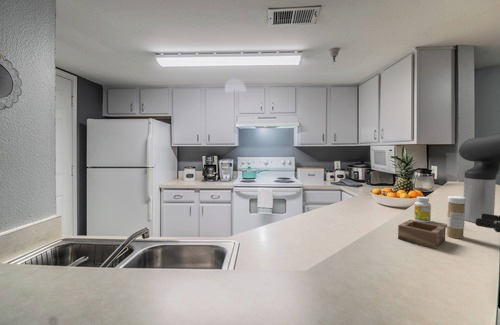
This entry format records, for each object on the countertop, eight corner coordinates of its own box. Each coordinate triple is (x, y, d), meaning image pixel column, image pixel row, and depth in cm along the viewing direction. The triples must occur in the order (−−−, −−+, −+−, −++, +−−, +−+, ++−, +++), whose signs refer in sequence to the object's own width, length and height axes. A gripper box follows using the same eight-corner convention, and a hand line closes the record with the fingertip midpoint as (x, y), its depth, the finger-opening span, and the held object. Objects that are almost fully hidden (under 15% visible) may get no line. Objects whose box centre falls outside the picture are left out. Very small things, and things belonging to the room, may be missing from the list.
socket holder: (409, 232, 86) (410, 219, 85) (445, 240, 78) (445, 226, 78) (397, 238, 80) (398, 225, 79) (435, 248, 72) (435, 233, 71)
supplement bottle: (432, 223, 95) (433, 199, 95) (416, 222, 97) (417, 198, 97) (427, 219, 101) (428, 196, 100) (412, 218, 102) (413, 195, 102)
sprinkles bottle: (448, 233, 85) (449, 194, 84) (465, 236, 81) (467, 196, 80) (444, 236, 82) (446, 196, 81) (462, 240, 78) (464, 198, 77)
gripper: (563, 214, 68) (483, 204, 81) (564, 224, 59) (474, 211, 72) (561, 240, 68) (482, 226, 81) (561, 254, 60) (473, 235, 72)
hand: (478, 219), depth 76 cm, fingers open, 8 cm apart
